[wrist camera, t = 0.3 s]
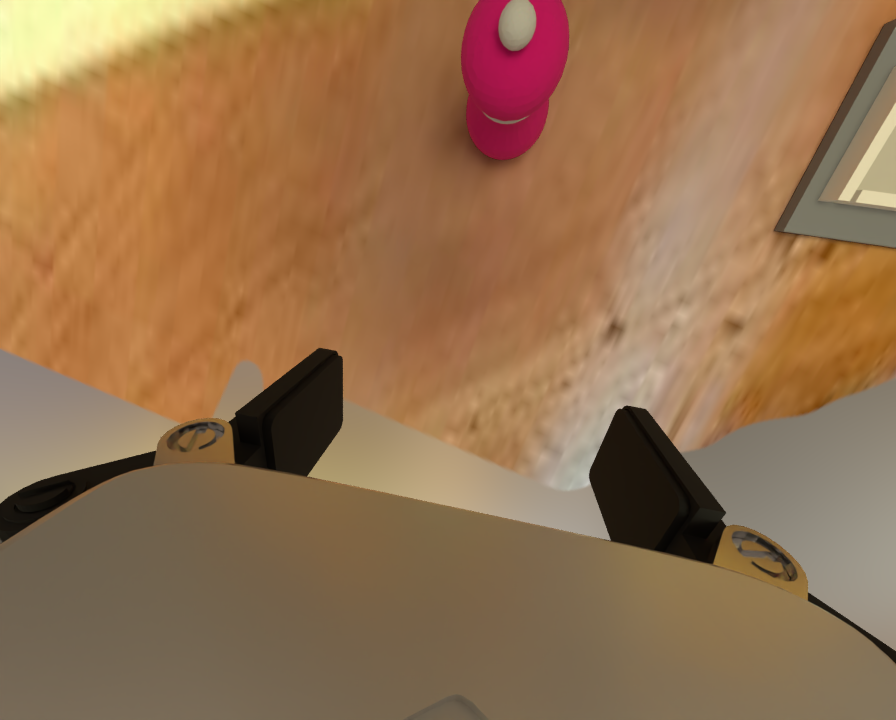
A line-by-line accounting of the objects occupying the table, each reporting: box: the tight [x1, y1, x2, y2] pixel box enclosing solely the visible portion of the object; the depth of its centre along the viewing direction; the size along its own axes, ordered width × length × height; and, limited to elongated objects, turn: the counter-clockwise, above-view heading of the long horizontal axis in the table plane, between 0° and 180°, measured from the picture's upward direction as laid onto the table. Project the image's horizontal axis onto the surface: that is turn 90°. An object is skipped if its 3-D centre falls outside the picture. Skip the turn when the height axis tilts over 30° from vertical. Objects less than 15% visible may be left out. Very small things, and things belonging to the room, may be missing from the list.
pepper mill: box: [461, 0, 569, 160], centre depth 24 cm, size 7×7×20 cm
